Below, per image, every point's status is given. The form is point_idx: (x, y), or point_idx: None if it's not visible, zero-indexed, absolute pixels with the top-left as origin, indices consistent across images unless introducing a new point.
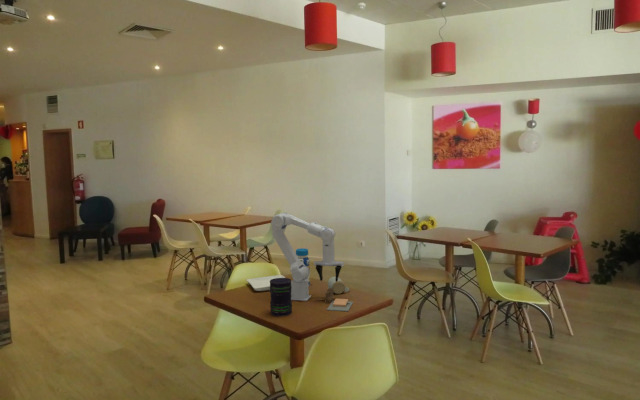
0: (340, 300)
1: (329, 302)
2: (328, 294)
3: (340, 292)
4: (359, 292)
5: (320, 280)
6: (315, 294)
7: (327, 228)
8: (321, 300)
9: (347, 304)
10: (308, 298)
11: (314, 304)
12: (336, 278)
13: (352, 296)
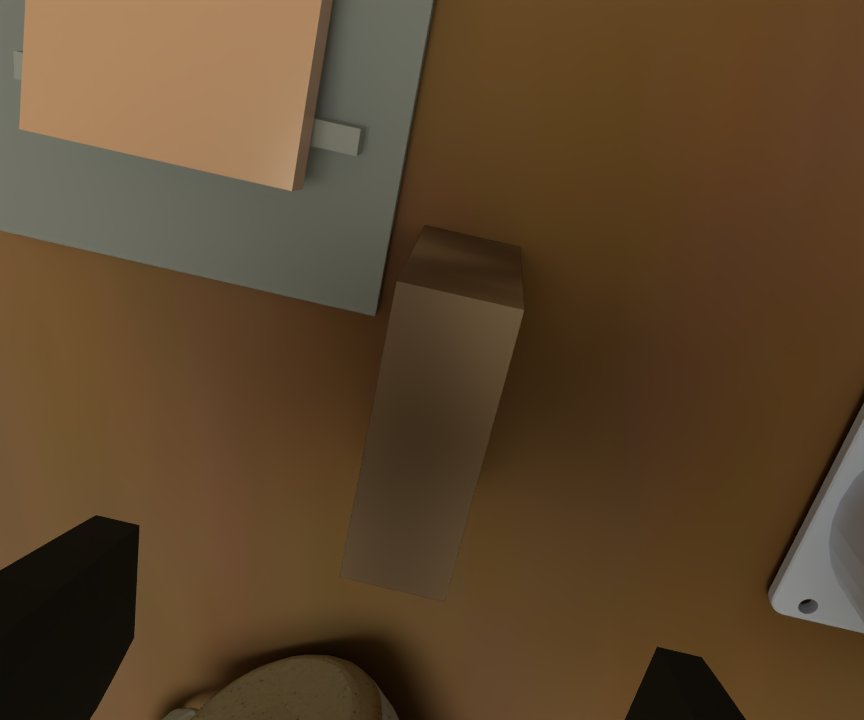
0: (178, 68)
1: (442, 229)
2: (445, 279)
3: (265, 670)
4: None
5: (702, 660)
6: None
7: None
8: (592, 375)
9: None
10: (848, 450)
11: (760, 125)
12: (27, 570)
13: None
